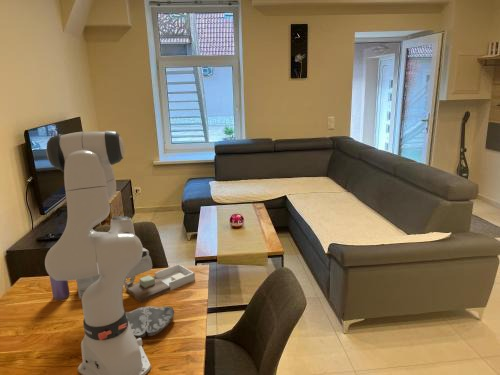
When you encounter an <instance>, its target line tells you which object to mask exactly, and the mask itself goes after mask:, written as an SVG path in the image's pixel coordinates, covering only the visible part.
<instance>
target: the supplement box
mask: <svg viewBox="0 0 500 375" xmlns="http://www.w3.org/2000/svg"><path fill="white" fill-rule="evenodd" d="M97 266H98V264H97ZM98 274H99V271H98ZM100 277H101V275H97V276H92V277H87V278H82V279H78V280H75V282H76V286H77V293H78V298H79V299H82V295H83V293H84V292H85V290H86V289H87V288H88V287H89V286H90V285H92V284H93V283H94V282H96V281H97V280H98V279H99V278H100Z"/></svg>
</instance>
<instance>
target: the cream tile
mask: <svg viewBox="0 0 500 375" xmlns="http://www.w3.org/2000/svg"><path fill="white" fill-rule="evenodd" d="M183 276H185V275H183V274H182V273H178V274H175V275H173V276H171V281H173V280H176V279H178V278H181V277H183Z"/></svg>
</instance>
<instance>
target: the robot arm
mask: <svg viewBox="0 0 500 375" xmlns="http://www.w3.org/2000/svg"><path fill="white" fill-rule="evenodd" d="M125 149H126V148H125V142H124V141H123V139H122V137H121V135H120V134H119V133H118V132H117V131H115V130H105V131H97V130H96V131H95V130H93V131H78V132H76V131H75V132H71V133H67V134H62V133H61V134H57V135H53V136H51V137H50V138H49V139H48V140H47V142H46V157H47V159H48V161H49V163H50V164H51V166H52V167H54V168H55V169H57V170H61V172H63V180H64V183H63V184H64V191H65V198H66V200H65V201H66V207H67V209H66V210H67V219H66V225H65V228H64V231H63V232H62V234H61V236H60V238H59V239H58V240H57V242H56V243H55V244H54V245H53V246H51V247H50V249H49V250H48V251H47V253H46V255H45V258H44V266H45V267H44V268H45V270H46V273H47V274H48V276H49V275H50V276H51V277H52V278H53V279H54V280H56V281H68V282H69V281H76V280H78V279H82V278H87V277H92V276H97V275H101V277H100V278H99V279H98V280H97V281H96V282H94V283H93V284H92V285H90V286H89V287H88V288H87V289H86V290H85V292H84V293H83V295H82V298H81V306H82V311H83V312H82V313H83V325H82V326H83V327H82V328H83V330H84V336H83V339H82V340H81V343H80V348H81V349H80V350H81V357H82V358H81V359H82V362H81V363H80V364H79V365H78V367H77V371H78V373H79V374H81V375H146V374H147V373H149V372H150V370H151V368H152V365H151V362H150V361H149V360H150V359H149V358H148V356H147V355H146V352H145V351H144V348H143V346H142V345H143V339H142V337H135V336H134V334H135V333H136V332H135V329H131V327H130V324H129V322H128V320H127V315H126V312H127V311H126V310H125V308H124V301H123V300H124V296H123V291H124V288H125V289H127V288H130V287H132V286H133V284H134V282H135V280H136V276H139V275H141V274H144V273H146V272H149V271H152V268H153V262H152V258H151V256H150V251H149V250H148V249H146V248H145V247H143V244H142V242H141V239H140V238H139V237H138V236H137V235H136V234H135V233H136V232H135V228H134V223H133V222H134V221H133V220H132V218H131V217H130V216H124V215H123V216H121V215H120V216H114V217H112V218H110V223H109V224H110V228H109V230H108V231H107V232H106V231H96V230H94V229H93V228H95V227H96V226H97V225H99V224H100V223H102V222H103V221H104V220H107V218H108V217H109V215H110V212H111V204H110V200H111V199H112V198H113V197H114V195H115V194H116V192H117V180H116V176H115V172H114V168H113V165H115V164H118V163H120V162H122V160H123V159H124V155H125V151H126V150H125ZM97 264H98V266H97ZM98 271H99V274H98ZM50 276H49V277H50ZM127 279H129V281H128V282H127Z"/></svg>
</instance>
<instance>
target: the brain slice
mask: <svg viewBox="0 0 500 375" xmlns="http://www.w3.org/2000/svg"><path fill="white" fill-rule="evenodd" d="M125 312H126V315H127V320H128V322H129V324H130V327H131V329H135V332H136V333H135V334H134V336H135V337H136V338H145V337H146V336H148V337H153V336H155V335H157V334H159V333H161V332H162V331H163V330H165V329H166V328H167V326H168V325H169V324H170V323H171V321H172V320H173V318H174V315H175V313H176V312H175V310H174V308H173V307H171V306H159V307H158V306H152V305H151V306H149V305H148V306H141V307H138V308H136V309H134V310H131V311H125Z"/></svg>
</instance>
